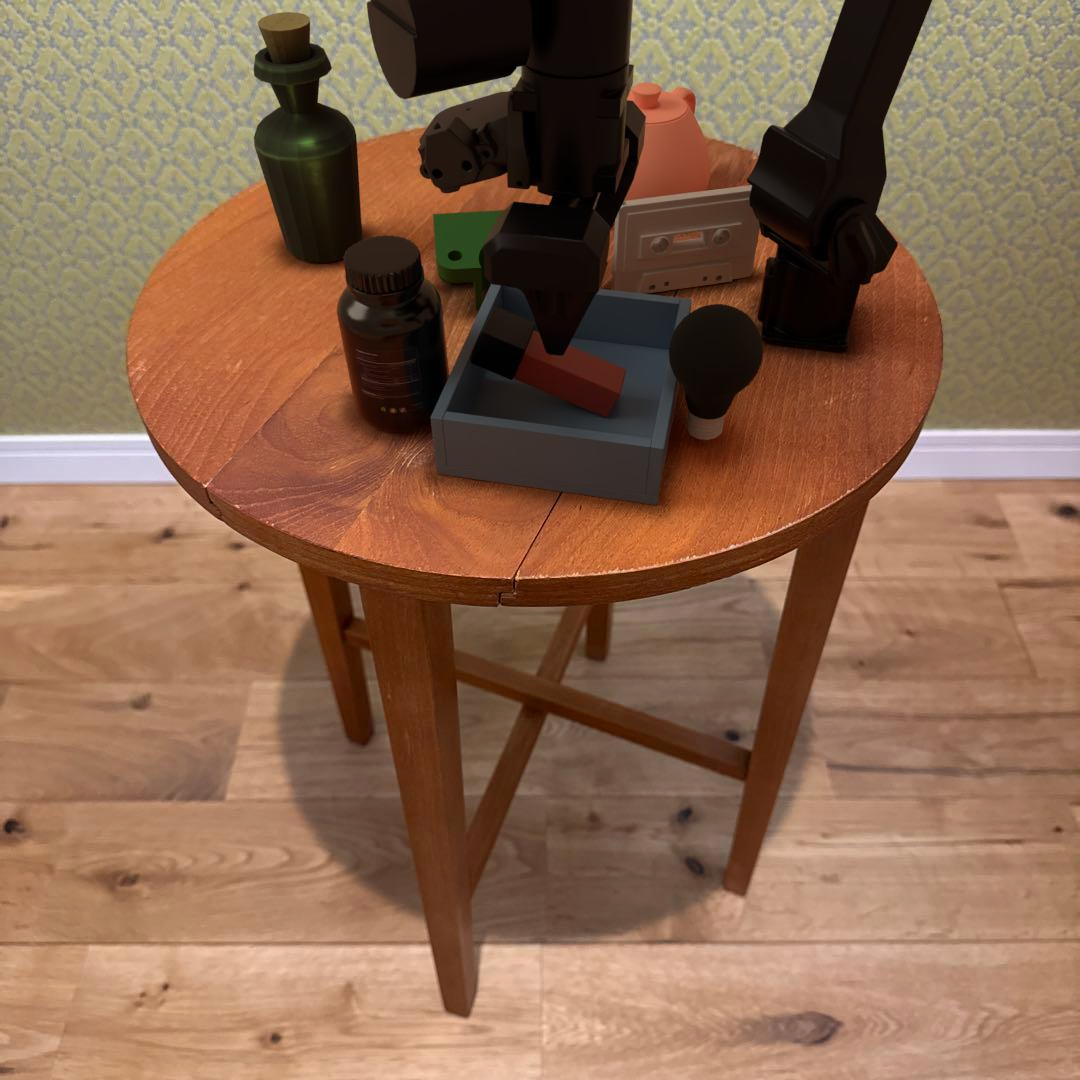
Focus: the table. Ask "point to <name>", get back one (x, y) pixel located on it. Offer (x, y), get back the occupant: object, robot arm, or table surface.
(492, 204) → the table surface
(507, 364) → the red bar
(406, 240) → the supplement bottle
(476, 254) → the clamp
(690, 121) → the sugar bowl
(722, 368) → the light bulb
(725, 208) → the cassette
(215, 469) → the table surface
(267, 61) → the potion bottle
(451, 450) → the bin
